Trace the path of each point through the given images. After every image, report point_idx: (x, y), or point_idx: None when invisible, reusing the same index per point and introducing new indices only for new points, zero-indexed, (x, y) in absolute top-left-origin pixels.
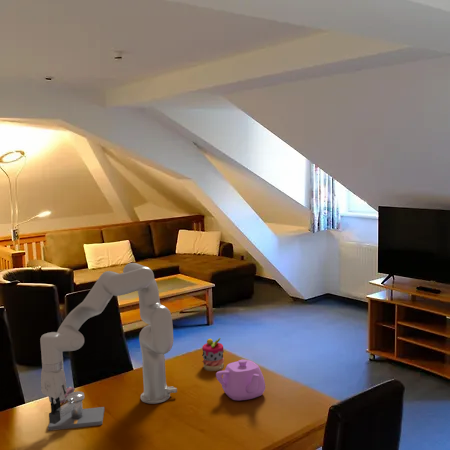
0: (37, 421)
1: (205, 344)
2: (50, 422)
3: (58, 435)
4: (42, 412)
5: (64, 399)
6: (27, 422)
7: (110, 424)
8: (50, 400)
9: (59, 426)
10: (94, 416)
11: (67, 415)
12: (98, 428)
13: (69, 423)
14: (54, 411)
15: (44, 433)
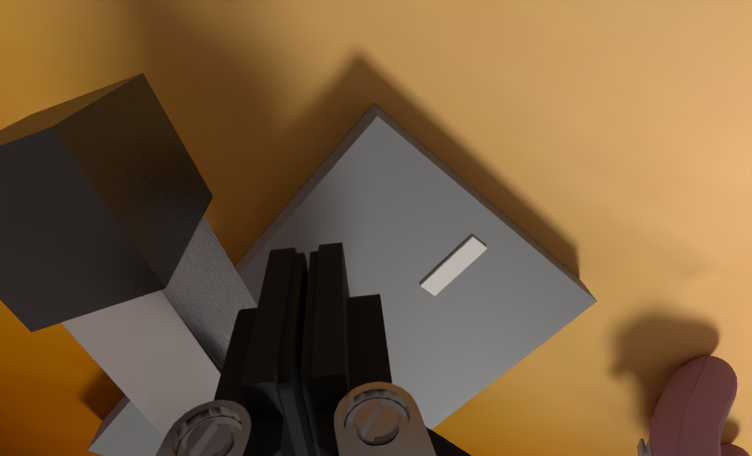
0: (646, 132)
1: None
2: (115, 83)
3: (188, 117)
4: (728, 247)
5: (651, 441)
6: (741, 50)
7: (64, 452)
8: (377, 428)
9: (299, 203)
10: None
11: (421, 342)
12: (60, 385)
13: (260, 287)
14: (87, 261)
15: (354, 39)
